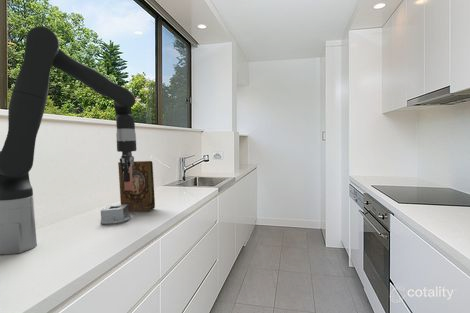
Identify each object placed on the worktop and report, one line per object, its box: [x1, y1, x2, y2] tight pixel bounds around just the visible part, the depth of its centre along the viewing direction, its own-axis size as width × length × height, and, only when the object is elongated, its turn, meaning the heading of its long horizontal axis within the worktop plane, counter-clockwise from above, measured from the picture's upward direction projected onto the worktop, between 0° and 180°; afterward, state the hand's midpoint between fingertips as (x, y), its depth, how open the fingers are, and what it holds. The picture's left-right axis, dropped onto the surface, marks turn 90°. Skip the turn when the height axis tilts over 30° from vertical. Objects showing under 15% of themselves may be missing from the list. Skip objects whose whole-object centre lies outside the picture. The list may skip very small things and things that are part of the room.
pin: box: [124, 156, 134, 190], centre depth 108 cm, size 4×4×14 cm
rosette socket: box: [100, 204, 131, 226], centre depth 115 cm, size 12×12×6 cm
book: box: [117, 160, 156, 213], centre depth 131 cm, size 16×6×25 cm, turn 84°
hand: (128, 181), depth 108 cm, fingers closed on pin, 3 cm apart
